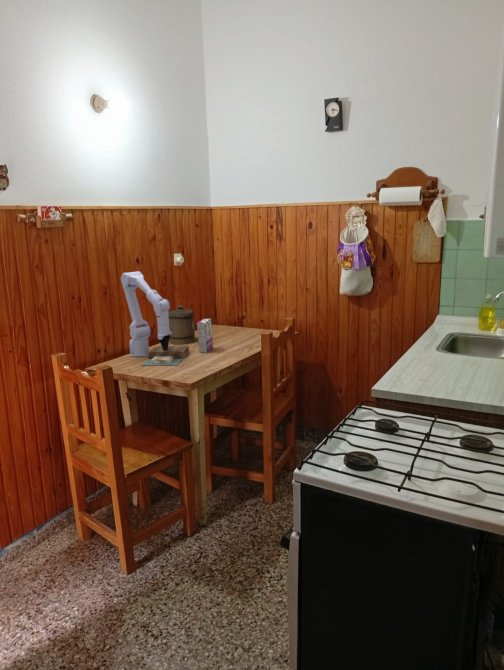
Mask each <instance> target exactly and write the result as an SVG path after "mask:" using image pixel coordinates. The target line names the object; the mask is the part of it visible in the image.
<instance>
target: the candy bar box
mask: <svg viewBox="0 0 504 670" xmlns="http://www.w3.org/2000/svg"><path fill="white" fill-rule="evenodd" d="M212 325H213V324H212V318H203V319H201V320H199V321H198V322H196V327H197V341H198V351H199V352H198V353H201V354H208V353H209V352H210V351H211V350H213V348H214V340H213V339H214V338H213V328H212V327H213V326H212Z"/></svg>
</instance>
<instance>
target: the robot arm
mask: <svg viewBox="0 0 504 670" xmlns="http://www.w3.org/2000/svg"><path fill="white" fill-rule="evenodd" d="M120 282H121V285H122V289H123V291H124V292H123V293H124V295H125V298H126V299H125V300H126V302H127V306H128V310H129V314H130V316H131V320H132V322H131V324H130V325H128V326H129V335H130V338H131V339H130V340H129V352H130V356H129V357H149V354H148V352H149V351H150V349H149V348H150V346H149V337H150V336H151V332H152V330H151V328H150V326H149V323H148V322H147V320H145V319H143V315H142V312H141V308H140V304H139V302H138V301H139V299H138V297H137V293H136V289H137V288H139V289H140V290H141V291H142V292H144V294H145V295H146V296H145V297H146V299H147V300H148V302H150V304H152V306H153V310H154V313H155V316H156V323H157V340H158V341H159V343H160V345H161V346H162V349H163V351H167V350H168V346H170V345H169V344H170V338H171V336H169V334H172V332H170V330H169V317H168V312H169V311H170V310H171V309H170V308H171V304H170V302H169V300H168V299H166V298H162V296H161V295H160V294H159V293H158V291H157V290H156V289H152V288H151V287H150V286H149V284H148V283H147V282H146V280H145V277H144V275H143V274H142V272H141V271H139V270H137V271H131V272H123V273H122V275H121V277H120Z"/></svg>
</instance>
